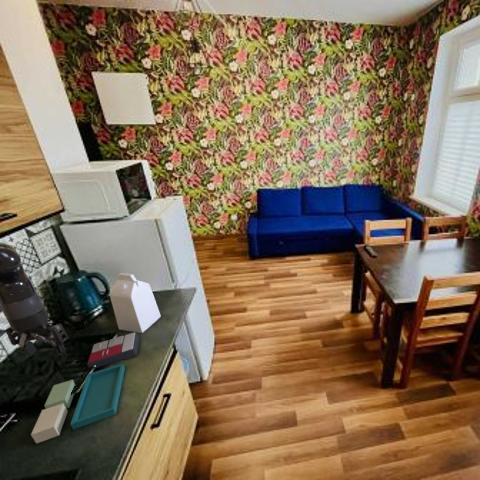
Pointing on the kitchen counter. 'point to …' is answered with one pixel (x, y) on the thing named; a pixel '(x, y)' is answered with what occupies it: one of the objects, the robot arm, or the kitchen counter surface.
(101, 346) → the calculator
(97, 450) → the kitchen counter surface
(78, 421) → the tray
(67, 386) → the pale green rectangular block
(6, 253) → the robot arm
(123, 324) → the milk
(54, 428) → the pad
